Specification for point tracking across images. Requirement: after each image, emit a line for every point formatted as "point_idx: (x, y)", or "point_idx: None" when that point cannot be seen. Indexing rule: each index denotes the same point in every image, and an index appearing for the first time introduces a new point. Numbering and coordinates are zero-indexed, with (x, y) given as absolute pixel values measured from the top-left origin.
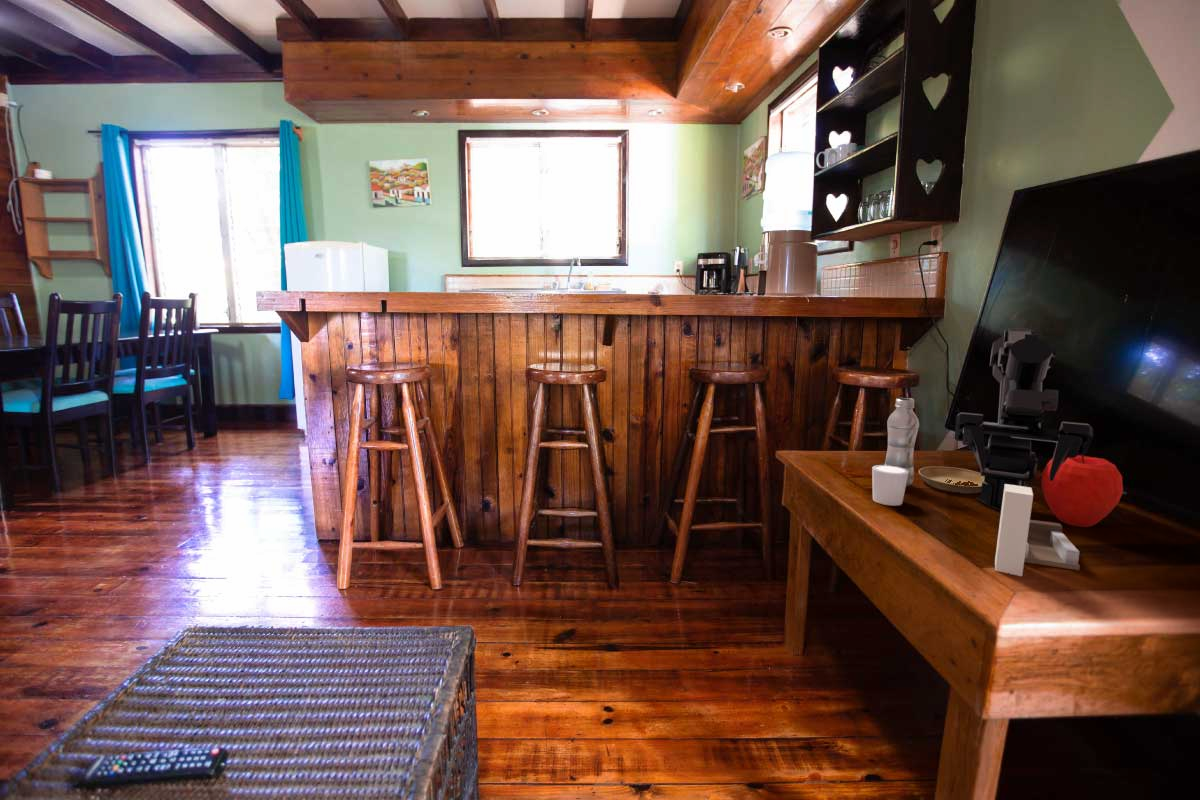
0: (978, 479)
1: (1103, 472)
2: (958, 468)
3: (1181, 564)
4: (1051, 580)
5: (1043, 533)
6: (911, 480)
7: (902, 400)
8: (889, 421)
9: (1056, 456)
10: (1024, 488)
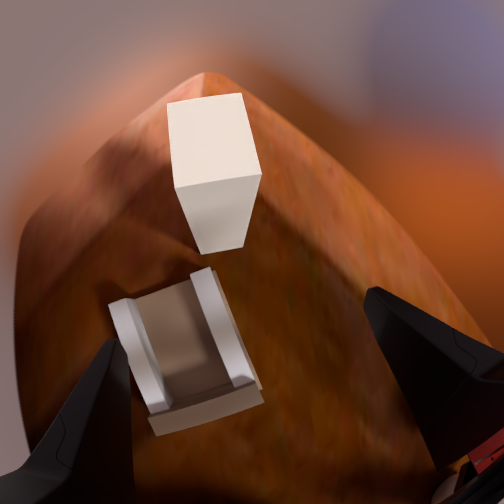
0: None
1: None
2: None
3: (31, 434)
4: (152, 222)
5: (182, 402)
6: (436, 500)
7: None
8: None
9: (75, 424)
10: (194, 157)
